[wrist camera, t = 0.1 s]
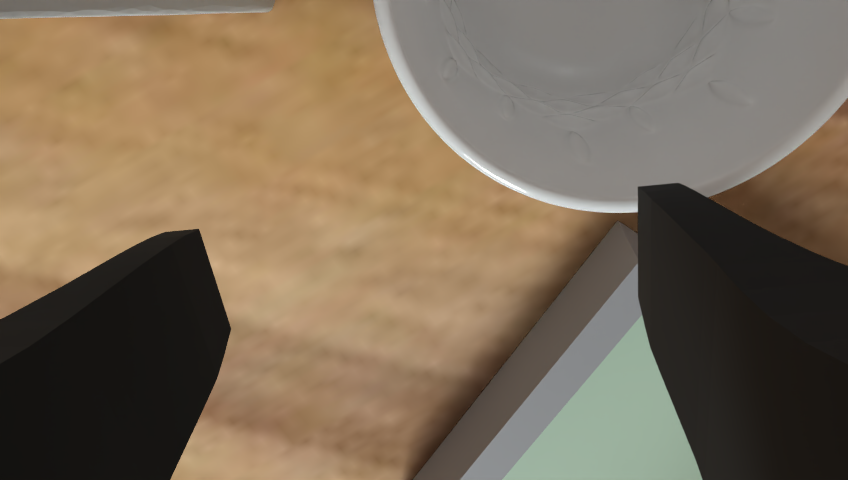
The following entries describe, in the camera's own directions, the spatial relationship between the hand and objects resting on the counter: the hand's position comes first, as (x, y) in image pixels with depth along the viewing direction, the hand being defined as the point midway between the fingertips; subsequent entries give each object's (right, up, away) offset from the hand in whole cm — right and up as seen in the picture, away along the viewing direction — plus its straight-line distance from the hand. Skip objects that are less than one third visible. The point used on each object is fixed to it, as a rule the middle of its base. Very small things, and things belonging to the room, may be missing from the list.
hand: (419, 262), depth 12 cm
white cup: (+4, +8, +8) cm, 12 cm away
